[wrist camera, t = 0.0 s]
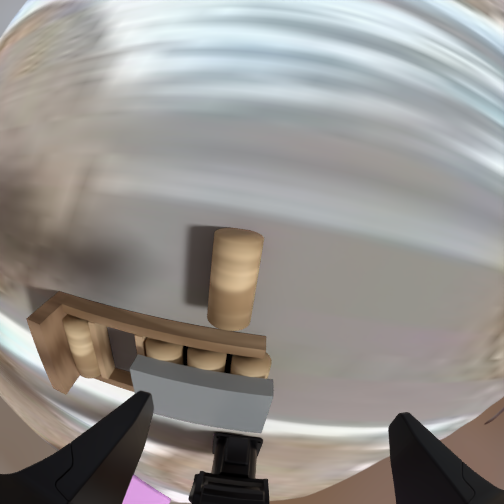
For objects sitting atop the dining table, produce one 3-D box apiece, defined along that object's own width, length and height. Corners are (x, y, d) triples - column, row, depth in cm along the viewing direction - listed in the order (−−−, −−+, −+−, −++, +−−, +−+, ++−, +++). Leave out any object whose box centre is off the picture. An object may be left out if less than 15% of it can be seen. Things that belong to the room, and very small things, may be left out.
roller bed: (257, 403, 28) (256, 427, 24) (85, 362, 28) (72, 379, 24) (274, 337, 24) (274, 362, 21) (68, 294, 24) (50, 310, 21)
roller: (250, 309, 24) (249, 333, 20) (210, 303, 23) (203, 327, 20) (263, 231, 21) (264, 246, 18) (218, 225, 21) (210, 239, 18)
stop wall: (88, 363, 28) (66, 394, 22) (76, 358, 28) (53, 388, 22) (72, 295, 24) (39, 324, 19) (59, 291, 24) (26, 318, 19)
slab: (261, 417, 24) (261, 433, 22) (144, 395, 24) (138, 409, 22) (273, 379, 22) (273, 396, 20) (137, 354, 22) (129, 368, 20)
